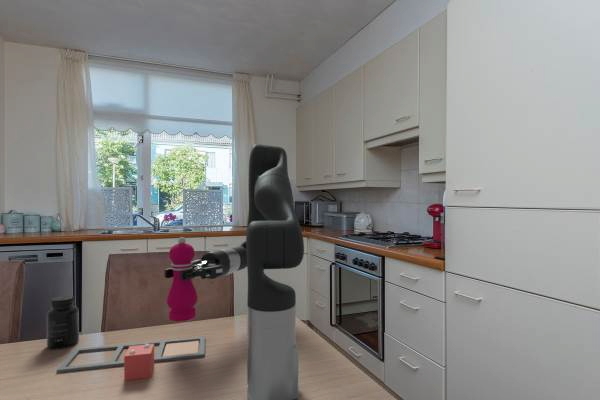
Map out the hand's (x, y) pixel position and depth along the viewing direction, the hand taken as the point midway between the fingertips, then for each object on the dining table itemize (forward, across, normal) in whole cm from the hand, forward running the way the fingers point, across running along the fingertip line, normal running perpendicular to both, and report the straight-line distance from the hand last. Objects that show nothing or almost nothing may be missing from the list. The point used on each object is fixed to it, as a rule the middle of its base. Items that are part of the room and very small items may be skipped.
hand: (173, 275), depth 84 cm
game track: (+4, -7, +19) cm, 21 cm away
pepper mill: (-3, 0, +11) cm, 12 cm away
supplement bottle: (+10, -29, +19) cm, 36 cm away
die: (+10, +1, +19) cm, 22 cm away
